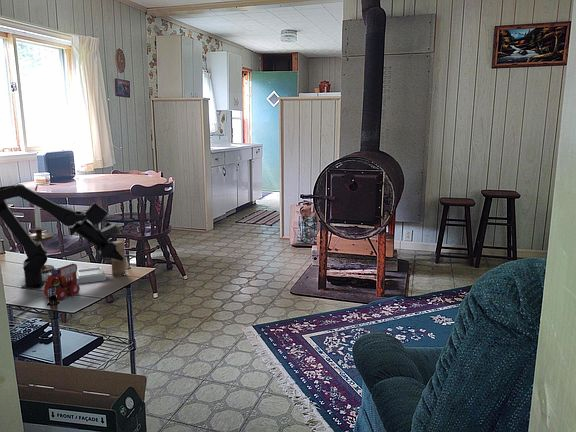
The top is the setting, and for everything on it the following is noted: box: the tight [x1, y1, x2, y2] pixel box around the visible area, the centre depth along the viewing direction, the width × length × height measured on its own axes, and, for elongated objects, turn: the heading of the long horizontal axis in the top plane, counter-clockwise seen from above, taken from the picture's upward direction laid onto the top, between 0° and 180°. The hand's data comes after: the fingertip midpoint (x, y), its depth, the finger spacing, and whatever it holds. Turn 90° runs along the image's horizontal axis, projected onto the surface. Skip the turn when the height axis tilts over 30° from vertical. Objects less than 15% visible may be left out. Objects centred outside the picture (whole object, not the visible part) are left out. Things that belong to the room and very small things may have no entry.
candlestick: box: [28, 184, 56, 274], centre depth 185 cm, size 11×11×35 cm
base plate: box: [76, 266, 107, 285], centre depth 180 cm, size 10×10×3 cm
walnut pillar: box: [110, 240, 127, 277], centre depth 184 cm, size 5×5×13 cm
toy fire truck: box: [43, 263, 81, 301], centre depth 160 cm, size 7×12×10 cm, turn 153°
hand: (121, 258), depth 184 cm, fingers closed on walnut pillar, 5 cm apart
